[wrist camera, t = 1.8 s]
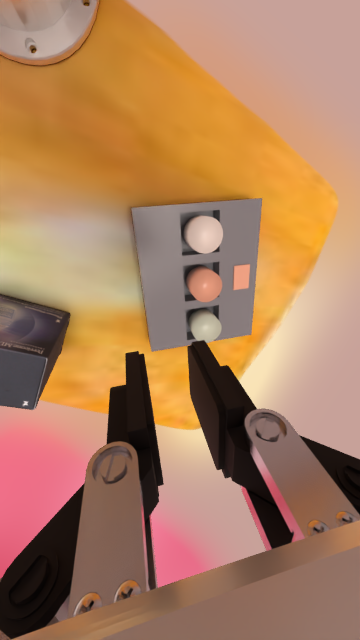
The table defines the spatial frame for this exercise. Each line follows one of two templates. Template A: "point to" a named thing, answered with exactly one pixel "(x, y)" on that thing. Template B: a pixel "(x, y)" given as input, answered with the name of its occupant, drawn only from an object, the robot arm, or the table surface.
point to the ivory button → (203, 234)
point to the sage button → (204, 325)
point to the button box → (179, 259)
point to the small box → (28, 349)
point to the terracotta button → (204, 284)
